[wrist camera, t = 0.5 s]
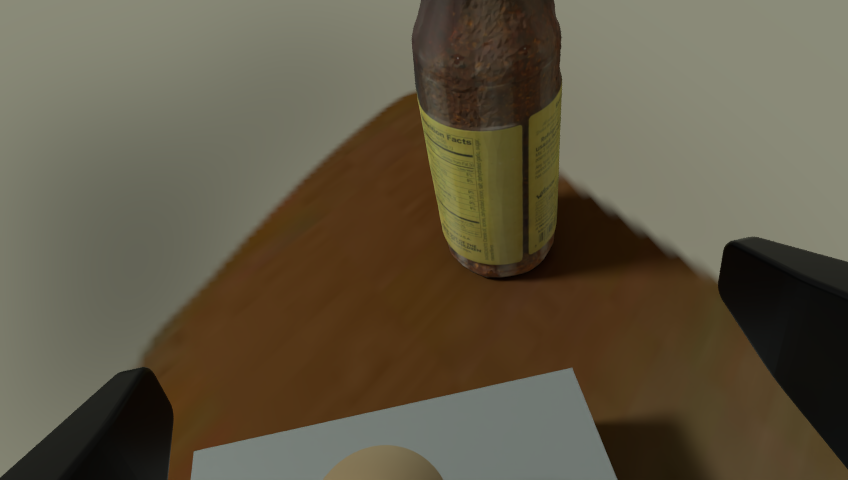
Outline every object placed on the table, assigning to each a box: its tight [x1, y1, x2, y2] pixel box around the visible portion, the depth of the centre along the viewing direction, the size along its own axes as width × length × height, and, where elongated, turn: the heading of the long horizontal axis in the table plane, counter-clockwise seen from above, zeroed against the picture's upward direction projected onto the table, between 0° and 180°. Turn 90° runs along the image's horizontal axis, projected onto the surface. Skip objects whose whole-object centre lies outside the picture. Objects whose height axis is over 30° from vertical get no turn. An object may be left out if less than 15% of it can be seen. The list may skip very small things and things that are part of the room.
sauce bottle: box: [412, 0, 562, 278], centre depth 24 cm, size 6×6×20 cm
